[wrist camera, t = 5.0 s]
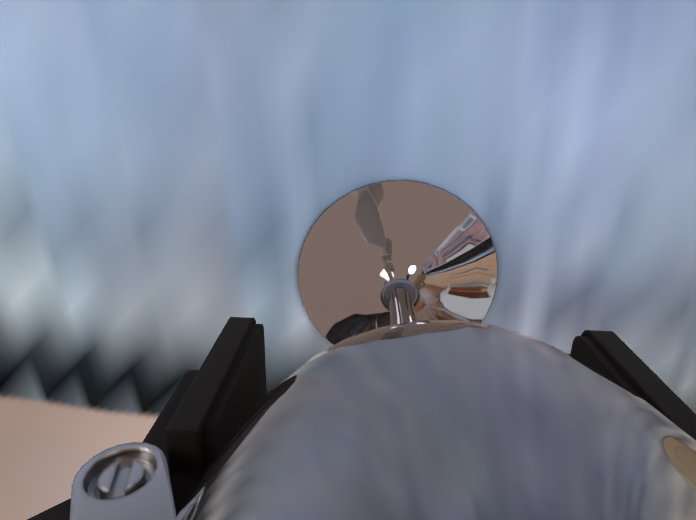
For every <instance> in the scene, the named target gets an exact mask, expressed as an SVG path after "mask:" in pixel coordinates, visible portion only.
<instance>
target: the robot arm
mask: <svg viewBox="0 0 696 520" xmlns="http://www.w3.org/2000/svg"><path fill="white" fill-rule="evenodd" d="M570 355H571V356H573V357H575V358H577V359H579V360H581V361H583V362H584V363H586V364H588V365H590V366H592V367H593V368H595V369H597V370H598V371H600V372H601V373H603V374H604V375H606V376H607V377H609V378H611V379H612V380H614V381H615V382H617V383H618V384H620V385H622V386H623V387H625V388H626V389H628V390H629V391H631V392H633V393H634V394H636V395H637V396H639V397H640V398H642V399H643V400H645V401H646V402H648V403H649V404H650V405H651V406H653V407H654V408H655V409H656V410H658V411H659V412H660V413H661V414H663V415H664V416H665V417H667V418H668V419H669V420H670V421H672V422H673V423H674V424H675V425H677V426H678V427H679V428H680V429H682V430H683V431H684V432H685V433H687V434H688V435H689V436H691V437H692V438H693V439H694V440H696V414H695V413H694V412H693V411H692V410H691V409H690V408H689V407H688V406H687V405H686V404H685V403H684V402H683V401H682V400H681V399H680V398H679V397H678V396H677V395H676V394H675V393H674V392H673V391H672V390H671V389H670V388H669V387H668V386H667V385H666V384H665V383H664V382H663V381H662V380H661V379H660V378H659V377H658V376H657V375H656V374H655V373H654V372H653V371H652V370H651V369H650V368H649V367H648V366H647V365H646V364H645V363H644V362H643V361H642V360H641V359H640V358H639V357H638V356H637V355H636V354H635V353H634V352H633V351H632V350H631V349H630V348H629V347H628V346H627V345H626V344H625V343H624V342H623V341H622V340H621V339H620V338H619V337H618V336H617V335H616V334H615V333H613V332H612V331H591V330H585V331H584V332H583V333H582V335H581V336H577V337H575V339H574V341H573V345H572V350H571V354H570ZM266 396H267V393H266V369H265V345H264V327H263V324H256V321H255V319H254V318H241V317H230V318H229V320H228V322H227V323H226V325H225V327H224V328H223V330H222V332H221V334H220V335H219V337H218V339H217V340H216V342H215V344H214V346H213V347H212V349H211V351H210V352H209V354H208V356H207V358H206V359H205V361H204V363H203V364H202V366H201V368H200V369H199V370H189V371H187V373H186V374H185V375H184V377H183V378H182V380H181V382H180V383H179V385H178V386H177V388H176V390H175V391H174V393H173V394H172V396H171V398H170V399H169V401H168V402H167V404H166V406H165V407H164V409H163V410H162V412H161V414H160V415H159V417H158V418H157V420H156V422H155V423H154V425H153V426H152V428H151V430H150V431H149V433H148V434H147V436H146V438H145V439H144V441H143V442H142V443H139V442H132V443H126V444H120V445H117V446H114V447H111V448H109V449H106V450H104V451H103V452H100V453H99V454H97V455H96V456H93V457H92V458H91V459H90V460H89V461H88V462H86V463H85V464H84V465H83V466H82V467H81V468H80V470H79V471H78V472H77V474H76V475H75V477H74V481H73V484H72V491H71V498H70V499H68V500H66V501H64V502H62V503H60V504H58V505H56V506H54V507H52V508H50V509H48V510H46V511H44V512H42V513H40V514H38V515H36V516H34V517H32V518H30V519H27V520H175V519H176V517H177V516H178V514H179V512H180V511H181V509H182V508H183V506H184V505H185V503H186V501H187V500H188V498H189V497H190V495H191V494H192V492H193V490H194V489H195V487H196V486H197V484H198V483H199V481H200V479H201V478H202V476H203V475H204V473H205V472H206V470H207V468H208V467H209V465H210V464H211V462H212V461H213V460H214V459H215V457H216V456H217V455H218V454H219V452H220V451H221V450H222V449H223V447H224V446H225V445H226V444H227V442H228V441H229V440H230V439H231V437H232V436H233V435H234V434H235V432H236V431H237V430H238V428H239V427H240V426H241V425H242V423H243V422H244V421H245V420H246V418H247V417H248V416H249V415H250V414H251V413H252V412H253V410H254V409H255V408H256V407H257V406H258V405H259V404H260V402H261V401H262V400H263V399H264V398H265V397H266Z"/></svg>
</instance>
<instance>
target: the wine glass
mask: <svg viewBox="0 0 696 520" xmlns="http://www.w3.org/2000/svg"><path fill="white" fill-rule="evenodd" d="M497 273H498V266H497V257H496V251H495V248H494V245H493V241H492V238H491V236H490V234H489V232H488V230H487V228H486V227H485V225H484V223H483V221H482V220H481V219H480V218H479V216H478V215H477V214H476V213H475V212H474V210H473V209H472V208H471V207H469V206H468V205H467V204H466V203H465V202H463V201H462V200H461V199H460V198H459V197H457V196H455V195H453V194H452V193H450V192H448V191H446V190H444V189H442V188H440V187H437V186H434V185H431V184H428V183H424V182H418V181H411V180H387V181H382V182H377V183H372V184H368V185H366V186H363V187H360V188H358V189H355V190H353V191H351V192H349V193H348V194H346V195H344V196H343V197H341V198H339V199H338V200H336V201H335V202H334V203H333V204H332V205H331V206H329V207H328V208H327V209H326V210H325V211H324V212H323V213H322V214H321V215H320V217H319V218H318V219H317V220H316V222H315V223H314V224H313V225H312V227H311V229H310V231H309V233H308V235H307V237H306V239H305V240H304V244H303V247H302V250H301V253H300V256H299V265H298V284H299V291H300V295H301V299H302V302H303V305H304V307H305V309H306V311H307V313H308V316H309V318H310V319H311V320H312V322H313V323H314V325H315V326H316V327H317V329H318V330H319V331H320V332H321V333H322V334H323V335H324V336H325V337H326V338H327V339H328V340H329V341H330V342H331V343H332V344H334V345H333V346H331V347H329V348H328V349H326V350H324V351H322V352H320V353H318V354H316V355H315V356H313V357H312V358H311V359H310V360H308V361H307V362H306V363H304V364H303V365H302V366H301V367H299V368H298V369H297V370H295V371H294V372H293V373H292V374H290V375H289V376H288V377H287V378H285V379H284V380H283V381H282V382H281V383H280V384H278V385H277V386H276V387H275V388H274V389H273V390H271V391H270V392H269V393H268V394H267V396H266V397H265V398H264V399H263V400H262V401H261V402H260V404H259V405H258V406H257V407H256V408H255V409H254V410H253V412H252V413H251V414H250V415H249V416H248V417H247V418H246V420H245V421H244V422H243V423H242V425H241V426H240V427H239V428H238V430H237V431H236V432H235V434H234V435H233V436H232V437H231V439H230V440H229V441H228V442H227V444H226V445H225V446H224V447H223V449H222V450H221V451H220V452H219V454H218V455H217V456H216V457H215V459H214V460H213V461H212V462H211V464H210V465H209V467H208V468H207V470H206V472H205V473H204V475H203V476H202V478H201V479H200V481H199V483H198V484H197V486H196V487H195V489H194V490H193V492H192V494H191V495H190V497H189V498H188V500H187V501H186V503H185V505H184V506H183V508H182V509H181V511H180V512H179V514H178V516H177V517H176V519H175V520H696V440H694V439H693V438H692V437H691V436H689V435H688V434H687V433H685V432H684V431H683V430H682V429H680V428H679V427H678V426H677V425H675V424H674V423H673V422H672V421H670V420H669V419H668V418H667V417H665V416H664V415H663V414H661V413H660V412H659V411H658V410H656V409H655V408H654V407H653V406H651V405H650V404H649V403H648V402H646V401H645V400H643V399H642V398H640V397H639V396H637V395H636V394H634V393H633V392H631V391H629V390H628V389H626V388H625V387H623V386H622V385H620V384H618V383H617V382H615V381H614V380H612V379H611V378H609V377H607V376H606V375H604V374H603V373H601V372H600V371H598V370H597V369H595V368H593V367H592V366H590V365H588V364H586V363H584V362H583V361H581V360H579V359H577V358H575V357H573V356H571V355H569V354H567V353H565V352H563V351H561V350H559V349H557V348H556V347H554V346H551V345H549V344H546V343H544V342H541V341H539V340H536V339H534V338H531V337H529V336H526V335H523V334H520V333H516V332H513V331H510V330H507V329H504V328H501V327H498V326H494V325H488V324H481V323H480V322H481V321H482V319H483V318H484V316H485V315H486V313H487V311H488V309H489V306H490V304H491V302H492V300H493V296H494V292H495V289H496V285H497Z"/></svg>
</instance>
